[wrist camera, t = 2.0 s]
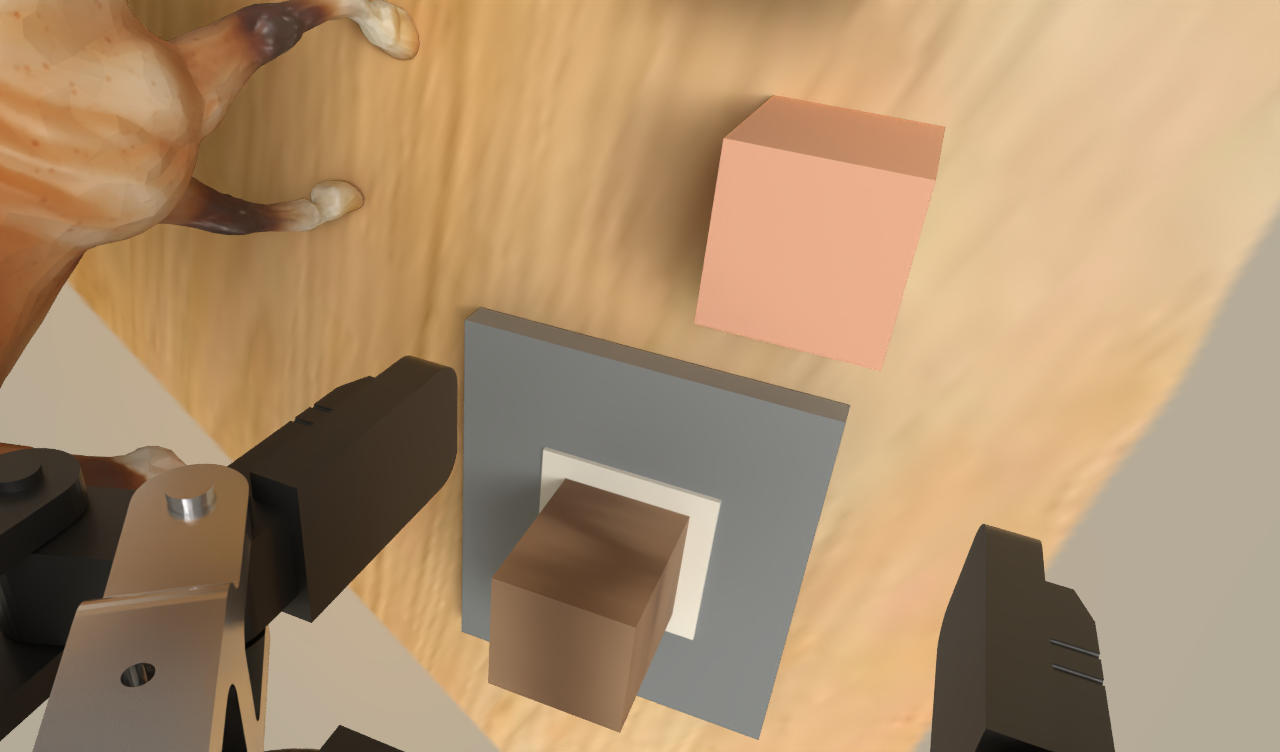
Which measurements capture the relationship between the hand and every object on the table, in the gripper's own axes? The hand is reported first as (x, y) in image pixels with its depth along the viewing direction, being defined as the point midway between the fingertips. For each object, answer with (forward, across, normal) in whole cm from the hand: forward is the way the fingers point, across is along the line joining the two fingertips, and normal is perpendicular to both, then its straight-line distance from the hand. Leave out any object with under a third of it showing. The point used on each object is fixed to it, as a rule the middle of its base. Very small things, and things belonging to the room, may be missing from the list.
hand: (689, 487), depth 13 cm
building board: (+16, +5, +15) cm, 23 cm away
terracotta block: (+16, 0, 0) cm, 16 cm away
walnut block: (+15, +5, +15) cm, 22 cm away
